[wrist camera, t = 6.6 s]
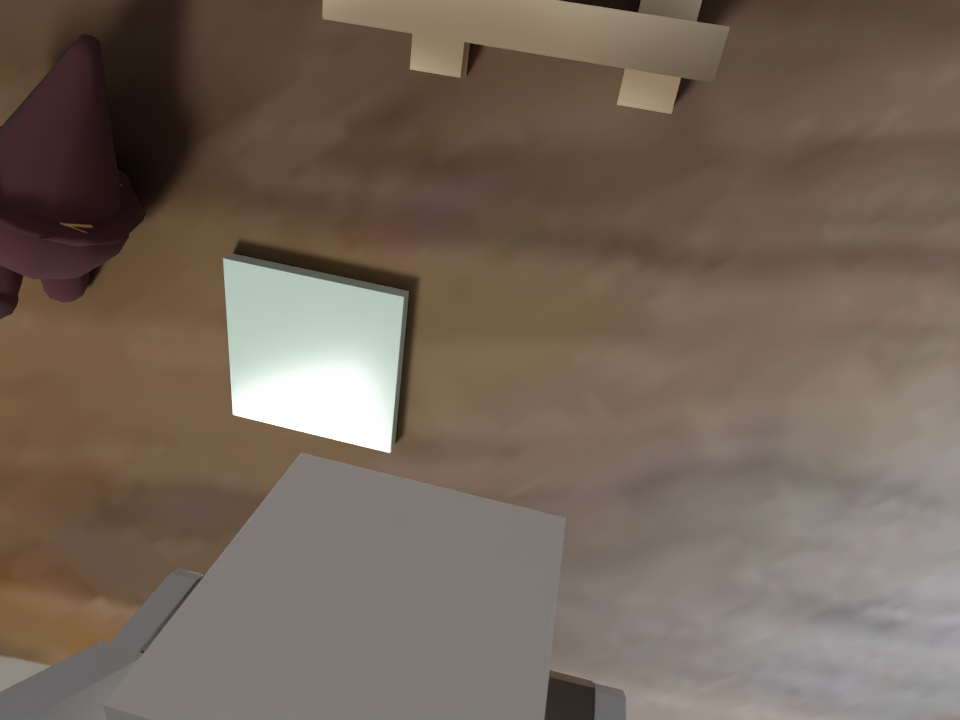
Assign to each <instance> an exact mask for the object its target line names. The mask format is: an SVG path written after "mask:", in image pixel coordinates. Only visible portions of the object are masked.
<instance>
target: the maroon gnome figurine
mask: <svg viewBox="0 0 960 720" xmlns="http://www.w3.org/2000/svg"><path fill="white" fill-rule="evenodd" d="M144 216H145V212H144V209H143V207H142V205H141V203H140V201H139V200H138V198H137V196H136V194H135V192H134V189H133V187H132V184H131V182H130V179H129V177H128V175H126V174H125V173H124V172H122V171H120V170H118V167H117V160H116V153H115V147H114V140H113V134H112V127H111V120H110V114H109V107H108V101H107V94H106V86H105V78H104V70H103V62H102V55H101V49H100V44H99V41H98V40H97V39H96V38H94V37H92V36H90V35H87V34H84V35H82V36H81V37H80V38H79V39H78V40H77V41H76V42H75V43H74V44H73V45H72V46H71V47H70V48H69V49H68V51H67V52H66V53H65V54H64V55H63V56H62V57H61V59H60V60H59V61H58V62H57V63H56V64H55V66H54V67H53V68H52V69H51V70H50V71H49V73H48V74H47V75H46V76H45V77H44V78H43V79H42V81H41V82H40V83H39V84H38V85H37V86H36V88H35V89H34V90H33V91H32V92H31V93H30V94H29V96H28V97H27V98H26V99H25V100H24V101H23V102H22V104H21V105H20V106H19V107H18V108H17V109H16V111H15V112H14V113H13V114H12V115H11V116H10V117H9V119H8V120H7V121H6V122H5V123H4V124H3V125H2V127H0V319H1V318H3V317H6V316H8V315H10V314H12V313H13V311H14V309H15V308H16V306H17V303H18V293H19V289H20V286H21V284H22V278H23V275H24V276H27V277H29V278H32V279H41V282H42V285H43V288H44V291H45V292H46V293H47V294H48V296H49V297H50V298H52V299H55V300H58V301H60V302H71V301H74V300H76V299H78V298H79V297H81V296H82V295H83V294H84V292H85V290H86V288H87V286H88V284H89V278H90V272H89V271H91V270H93V269H94V268H96V267H98V266H100V265H101V264H103V263H105V262H106V261H108V260H109V259H111V258H112V257H114V256H116V255H117V254H119V252H120V250H121V249H122V247H123V245H124V244H125V242H126V240H127V239H128V237H129V233H130V232H131V231H132V230H133V229H134V228H135V227H137V226H138V225H139V224H140V223H141V222H142V221H143V218H144Z"/></svg>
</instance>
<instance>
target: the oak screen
mask: <svg viewBox="0 0 960 720" xmlns="http://www.w3.org/2000/svg"><path fill="white" fill-rule="evenodd" d="M701 3H702V0H641V1H640V5H639V10H638V13H637V12H631V11H624V10H618V9H611V8H605V7H598V6H591V5H585V4H578V3H572V2H565V1H559V0H323V19H327V20H333V21H339V22H345V23H351V24H357V25H363V26H369V27H376V28H382V29H388V30H394V31H400V32H406V33H412V34H413V37H412V50H411V62H410V69H412V70H417V71H423V72H429V73H435V74H441V75H447V76H453V77H458V78H462V77H466V73H467V64H468V56H469V47H470V43H473V44H479V45H485V46H491V47H497V48H504V49H510V50H516V51H522V52H528V53H534V54H540V55H546V56H552V57H558V58H564V59H571V60H577V61H583V62H589V63H595V64H601V65H607V66H613V67H619V68H625V70H624V75H623V79H622V83H621V88H620V92H619V96H618V101H617V105H622V106H628V107H634V108H640V109H646V110H652V111H657V112H663V113H669V114H671V113H672V110H673V106H674V102H675V99H676V95H677V91H678V88H679V84H680V80H681V78H686V79H692V80H699V81H705V82H711V83H713V82H714V79H715V76H716V72H717V69H718V66H719V62H720V59H721V55H722V52H723V49H724V45H725V42H726V39H727V35H728V32H729V28H730V27H728V26H722V25H715V24H709V23H702V22H696V21H697V18H698V14H699V10H700V7H701Z"/></svg>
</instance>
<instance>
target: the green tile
mask: <svg viewBox="0 0 960 720" xmlns="http://www.w3.org/2000/svg"><path fill="white" fill-rule="evenodd" d="M223 263H224V279H225V295H226V311H227V327H228V343H229V359H230V375H231V391H232V407H233V415H236V416H240V417H244V418H249V419H253V420H257V421H261V422H265V423H269V424H273V425H277V426H281V427H285V428H290V429H294V430H298V431H302V432H306V433H310V434H314V435H318V436H322V437H327V438H331V439H335V440H339V441H343V442H347V443H351V444H355V445H359V446H363V447H368V448H372V449H376V450H380V451H384V452H388V453H391V451H392V449H393V447H394V446H395V440H396V429H397V418H398V408H399V397H400V386H401V375H402V364H403V353H404V342H405V331H406V321H407V310H408V299H409V291H407V290H402V289H397V288H393V287H388V286H383V285H379V284H374V283H369V282H364V281H360V280H355V279H350V278H346V277H341V276H336V275H331V274H327V273H322V272H317V271H313V270H308V269H303V268H299V267H294V266H289V265H284V264H280V263H275V262H270V261H266V260H261V259H256V258H251V257H247V256H242V255H237V254H233V253H232V254H231V255H229V256H227V257H225V258H223Z"/></svg>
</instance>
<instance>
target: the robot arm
mask: <svg viewBox="0 0 960 720" xmlns="http://www.w3.org/2000/svg"><path fill="white" fill-rule="evenodd" d="M204 576H205V575H203V574H199V573H196V572H192V571H188V570H185V569H181V568H178V569H177V570H175V571H174V572H172V573H171V574H169V575H168V576H167V577H166V579H165V580H164V581H163V582H162V583H161V584H160V586H159V587H158V588H157V589H156V590H155V591H154V593H153V594H152V595H151V596H150V597H149V598H148V600H147V601H146V602H145V603H144V604H143V605H142V607H141V608H140V609H139V610H138V611H137V612H136V613H135V615H134V616H133V617H132V618H131V619H130V620H129V622H128V623H127V624H126V625H125V626H124V627H123V629H122V630H121V631H120V632H119V633H118V634H117V636H116V637H115V638H114V639H113V640H112V641H111V643H108V642H104V641H101V642H99V643H97V644H95V645H93V646H91V647H89V648H87V649H85V650H83V651H81V652H79V653H77V654H75V655H73V656H71V657H69V658H67V659H65V660H63V661H61V662H59V663H57V664H55V665H53V666H51V667H49V668H47V669H45V670H43V671H41V672H39V673H37V674H35V675H33V676H31V677H29V678H27V679H25V680H23V681H21V682H19V683H17V684H15V685H13V686H11V687H9V688H7V689H5V690H3V691H1V692H0V720H107V719H106V715H105V711H104V707H103V704H104V703H105V702H106V700H107V699H108V698H109V697H110V695H111V694H112V693H113V692H114V690H115V689H116V688H117V686H118V685H119V684H120V683H121V681H122V680H123V679H124V678H125V676H126V675H127V674H128V672H129V671H130V670H131V669H132V667H133V666H134V665H135V663H136V662H137V661H138V660H139V658H140V657H141V656H142V655H143V653H144V652H145V651H146V649H147V648H148V647H149V646H150V644H151V643H152V642H153V641H154V639H155V638H156V637H157V635H158V634H159V633H160V632H161V630H162V629H163V628H164V627H165V625H166V624H167V623H168V621H169V620H170V619H171V618H172V616H173V615H174V614H175V613H176V611H177V610H178V609H179V607H180V606H181V605H182V604H183V602H184V601H185V600H186V599H187V597H188V596H189V595H190V593H191V592H192V591H193V590H194V588H195V587H196V586H197V585H198V583H199V582H200V581H201V579H202V578H203V577H204ZM544 720H626V697H625V695H624V692H623V691H622V690H620V689H616V688H612V687H608V686H604V685H600V684H596V683H593V682H592V681H589V680H585V679H582V678H578V677H574V676H570V675H566V674H562V673H558V672H554V671H551V670H550V672H549V681H548V690H547V700H546V709H545V718H544Z"/></svg>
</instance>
